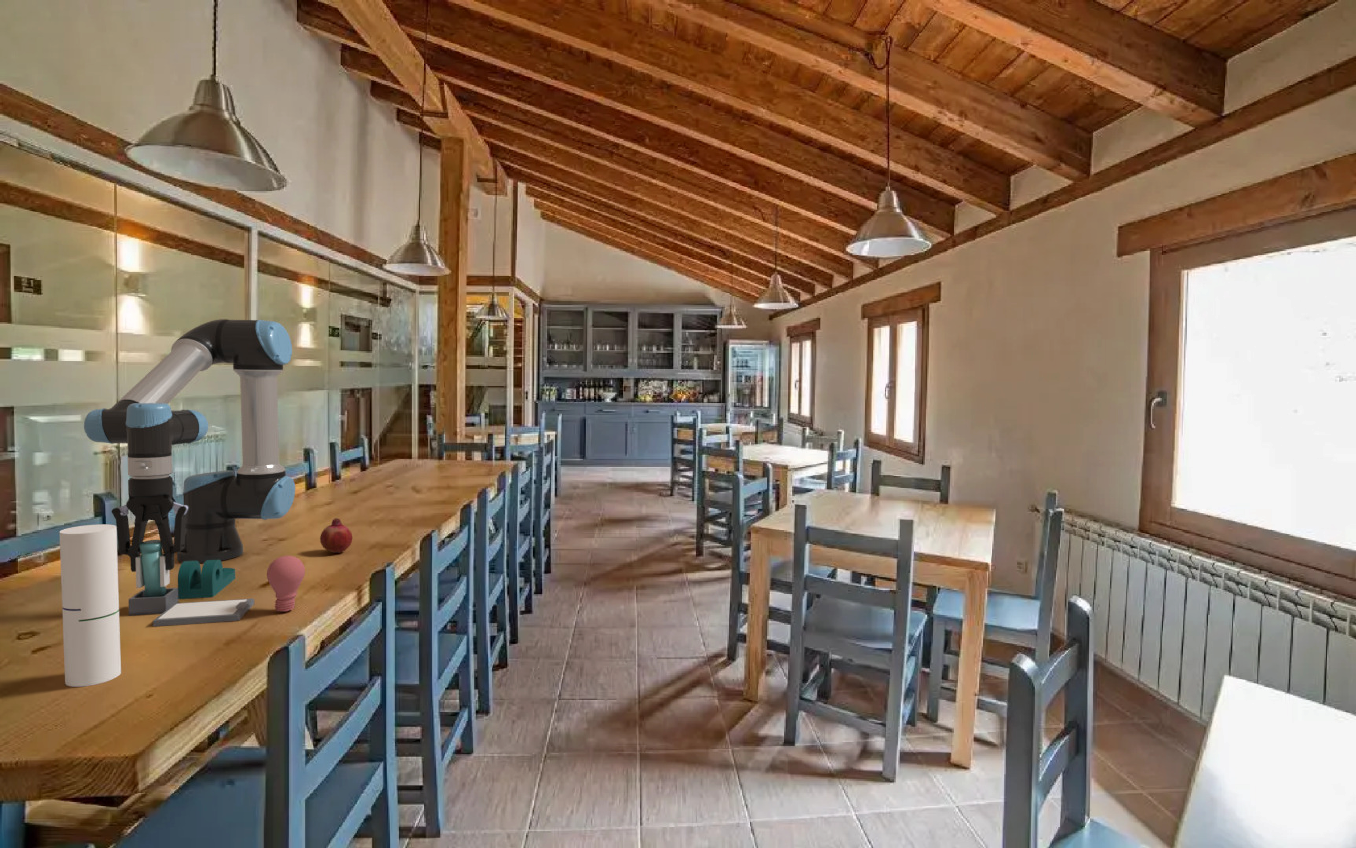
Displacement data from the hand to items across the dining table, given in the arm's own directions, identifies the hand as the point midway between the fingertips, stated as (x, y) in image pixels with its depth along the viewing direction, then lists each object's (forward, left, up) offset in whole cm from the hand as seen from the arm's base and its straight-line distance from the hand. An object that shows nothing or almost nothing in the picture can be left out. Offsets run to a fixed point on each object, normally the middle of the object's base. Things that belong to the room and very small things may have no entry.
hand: (153, 585), depth 149 cm
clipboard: (+6, +12, -5) cm, 14 cm away
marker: (-1, 0, -5) cm, 5 cm away
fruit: (-43, +29, -5) cm, 52 cm away
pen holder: (0, 0, -5) cm, 5 cm away
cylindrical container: (+36, +5, -5) cm, 37 cm away
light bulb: (+7, +27, -5) cm, 28 cm away
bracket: (-16, +6, -6) cm, 18 cm away
